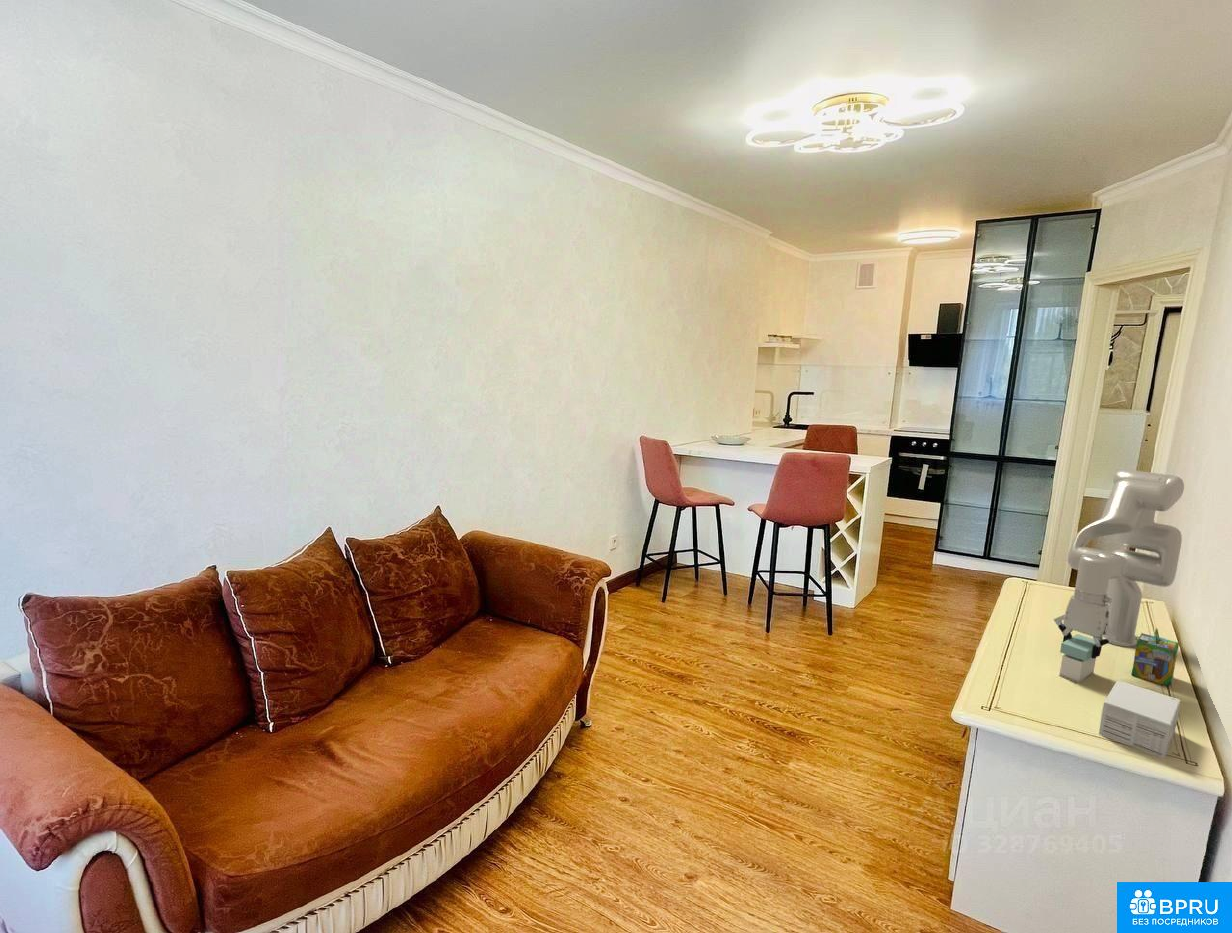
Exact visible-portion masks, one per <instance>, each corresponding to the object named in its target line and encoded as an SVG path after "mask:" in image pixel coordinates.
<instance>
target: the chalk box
mask: <svg viewBox="0 0 1232 933" xmlns="http://www.w3.org/2000/svg"><path fill="white" fill-rule="evenodd" d="M1137 639H1138V640H1137V644H1136V646H1135V651H1134V659H1133V664H1132V670H1131V677H1135V678H1139V679H1143V680H1145V681H1150V682H1153V683H1156V684H1160V685H1162V686H1166V687H1169V686H1170V687H1171V686H1172V684H1173V679H1174V673H1175V667H1176V662H1177V656H1178V651H1179V646H1180V643H1179V642H1177V641H1174V640H1170V639H1167V638H1164V637H1160V634H1159V628H1157V627H1156V628H1155V631H1154V635H1151V634H1146V633H1143V632H1142V633H1141V634H1140V636H1139V637H1138V638H1137Z"/></svg>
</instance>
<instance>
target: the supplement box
mask: <svg viewBox="0 0 1232 933" xmlns="http://www.w3.org/2000/svg"><path fill="white" fill-rule="evenodd" d="M1181 703H1182V700H1181V699H1179V698H1176V697H1172V696H1170V695H1166V694H1162V693H1160V692H1157V691H1153V690H1151V689H1148V688H1147V689H1146V688H1144V687H1141V686H1138V685H1134V684H1131V683H1128V682H1125V681H1121V680H1117V681H1116V682H1115V684H1113V687H1112V688H1111V690H1110V692H1109V693H1108V695H1107V696H1106V698H1105V700H1104V702H1103V705H1102V710H1101V717H1100V723H1099V730H1098V735H1100V736H1103V737H1106V738H1108V739H1110V740H1113V741H1116V742H1119V743H1122V744H1124V745H1126V746H1129V747H1132V748H1134V749H1138V750H1140V751H1142V752H1144V753H1148V754H1151V755H1153V756H1156V757H1158V758H1161V759H1166V755H1167V753H1168V750H1169V748H1170V745H1171V743H1172V740H1173V737H1174V735H1175V732H1176V728H1177V727H1176V726H1177V723H1178V717H1179V711H1180V708H1181Z"/></svg>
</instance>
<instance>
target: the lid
mask: <svg viewBox="0 0 1232 933" xmlns="http://www.w3.org/2000/svg"><path fill="white" fill-rule="evenodd" d="M1094 645H1095V642H1094V639H1093V637H1092V638H1091V637H1088V636H1086V635H1082V634H1078V633H1077V634H1075V635H1072V638H1070V639H1068V640H1066V641H1064V642H1063V641H1062V642H1061V645H1060V650H1059V653H1061V654H1063V655H1065V654H1067V655H1068V657H1070V658H1073V659H1076V660H1078V661H1081V660H1083V661H1087V660H1088V659H1090V658H1091V657H1092V651H1093V646H1094ZM1102 647H1103V646H1102ZM1102 647H1101V649H1102Z"/></svg>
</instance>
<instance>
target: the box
mask: <svg viewBox="0 0 1232 933" xmlns="http://www.w3.org/2000/svg"><path fill="white" fill-rule="evenodd" d="M1061 658H1062V659H1061V663H1060V664H1061V665H1060V668H1059V674H1058V676H1059V677H1062V678H1064V679H1067V680H1070V681H1073V682H1075V683H1078V684H1079V683H1081V682H1083V681H1084V680H1086V679H1088V677H1090V676H1091V675H1093V674H1094V672H1095V668H1096V667H1095V666H1096V661H1097V657H1096V658H1094V659H1093V658H1092V657H1091V658H1090V659H1088V660H1087V661H1083V660H1081V661H1078V660H1076V659H1073V658H1070V657H1068V655H1067V654H1063V655H1062V656H1061Z"/></svg>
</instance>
